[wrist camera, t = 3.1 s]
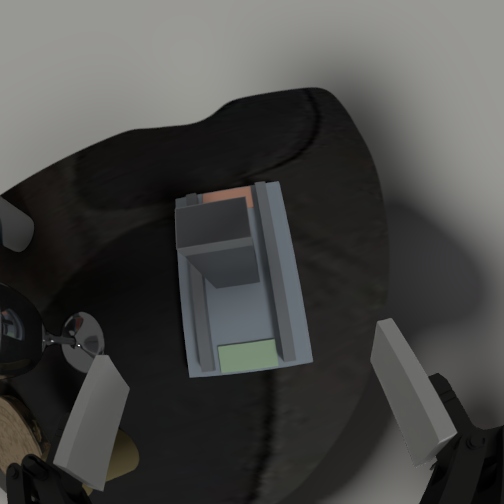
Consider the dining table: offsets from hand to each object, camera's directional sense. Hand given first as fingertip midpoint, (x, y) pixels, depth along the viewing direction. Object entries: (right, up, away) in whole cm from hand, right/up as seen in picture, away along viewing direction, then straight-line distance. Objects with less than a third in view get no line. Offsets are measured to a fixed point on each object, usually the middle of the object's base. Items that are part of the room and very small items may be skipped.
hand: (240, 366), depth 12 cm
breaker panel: (-1, +3, +15) cm, 15 cm away
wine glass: (-19, -5, +14) cm, 24 cm away
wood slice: (-33, -23, +9) cm, 41 cm away
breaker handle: (-1, +3, +13) cm, 14 cm away
